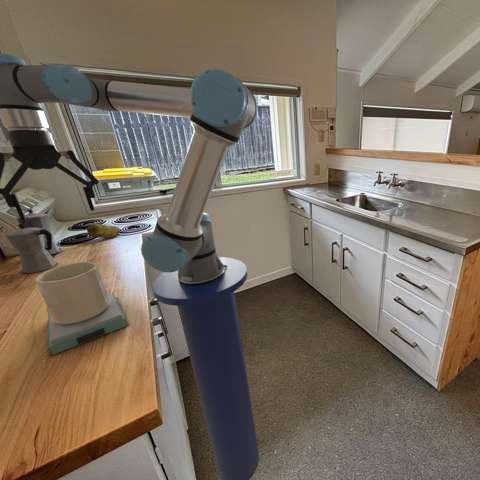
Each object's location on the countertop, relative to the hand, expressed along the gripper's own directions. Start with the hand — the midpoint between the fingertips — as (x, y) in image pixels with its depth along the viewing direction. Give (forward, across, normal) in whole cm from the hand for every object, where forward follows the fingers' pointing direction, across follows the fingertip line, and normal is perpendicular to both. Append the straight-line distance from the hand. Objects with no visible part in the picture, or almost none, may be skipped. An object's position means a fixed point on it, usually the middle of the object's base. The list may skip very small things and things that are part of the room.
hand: (60, 214), depth 70 cm
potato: (+27, -12, -68) cm, 74 cm away
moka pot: (+27, +10, -60) cm, 67 cm away
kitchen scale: (+27, +2, +15) cm, 31 cm away
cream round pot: (+23, +2, +15) cm, 28 cm away
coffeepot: (+27, +11, -42) cm, 51 cm away
